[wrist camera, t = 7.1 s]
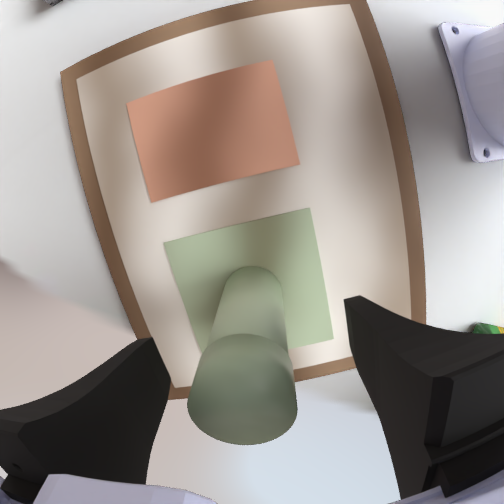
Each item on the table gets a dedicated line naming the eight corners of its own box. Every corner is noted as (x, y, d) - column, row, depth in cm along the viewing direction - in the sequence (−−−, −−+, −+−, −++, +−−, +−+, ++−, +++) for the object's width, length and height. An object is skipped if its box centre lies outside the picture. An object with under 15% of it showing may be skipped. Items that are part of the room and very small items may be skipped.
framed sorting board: (358, -7, 12) (362, -13, 11) (421, 342, 17) (426, 348, 16) (65, 73, 13) (58, 71, 13) (168, 394, 19) (165, 402, 18)
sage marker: (276, 258, 15) (287, 361, 8) (289, 314, 16) (304, 437, 8) (214, 271, 15) (171, 377, 8) (230, 325, 16) (206, 448, 9)
